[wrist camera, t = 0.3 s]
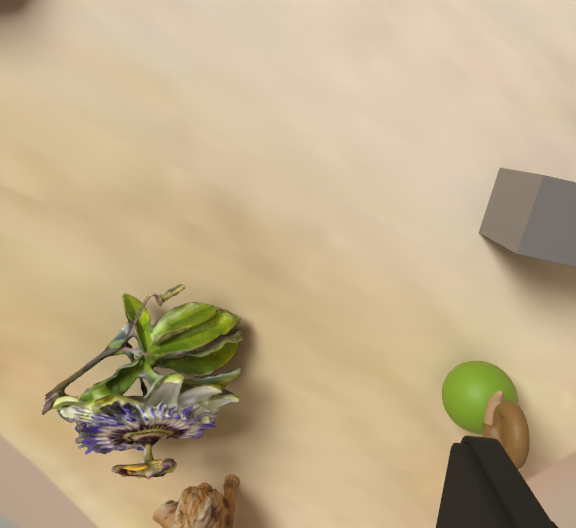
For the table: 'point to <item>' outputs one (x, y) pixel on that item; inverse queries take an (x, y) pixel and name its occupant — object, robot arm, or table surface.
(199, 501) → the lion figurine
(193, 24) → the table surface
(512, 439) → the snail figurine
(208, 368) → the passion flower
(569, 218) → the grey rectangular block
